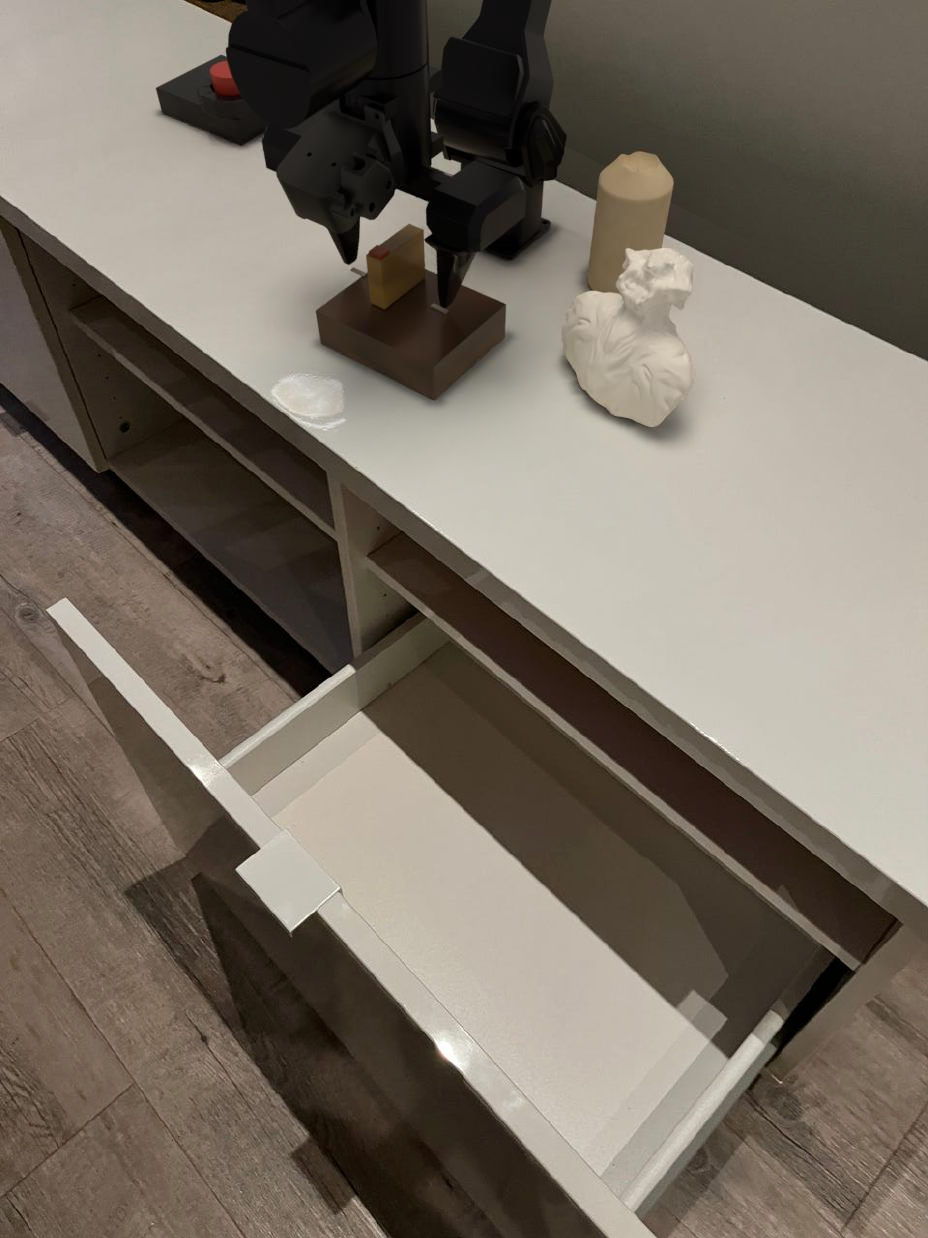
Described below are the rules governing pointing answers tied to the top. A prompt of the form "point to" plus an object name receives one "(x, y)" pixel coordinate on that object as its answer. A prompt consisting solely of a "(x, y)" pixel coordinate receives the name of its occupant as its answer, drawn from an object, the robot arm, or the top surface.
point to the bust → (634, 338)
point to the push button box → (209, 105)
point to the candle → (627, 215)
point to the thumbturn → (396, 266)
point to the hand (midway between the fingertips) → (397, 283)
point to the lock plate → (413, 332)
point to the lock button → (223, 79)
